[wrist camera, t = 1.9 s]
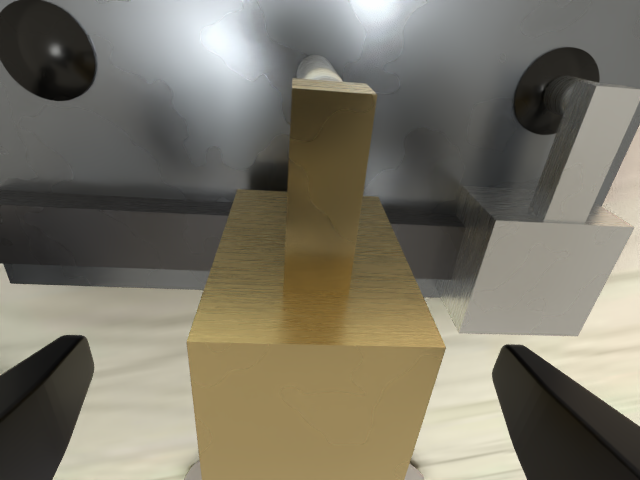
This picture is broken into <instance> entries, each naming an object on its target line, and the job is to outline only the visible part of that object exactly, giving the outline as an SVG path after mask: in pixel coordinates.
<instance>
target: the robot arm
mask: <svg viewBox="0 0 640 480" xmlns="http://www.w3.org/2000/svg"><path fill="white" fill-rule="evenodd" d="M93 373H94V362H93V358H92V354H91V351H90V347H89V343H88V340H87V338H86V337H85V336H82V335H64V336H61V337H60V338H58V339H56V340H55V341H53V342H52V343H50V344H48V345H47V346H45V347H44V348H42V349H41V350H39V351H38V352H36V353H34V354H33V355H31V356H30V357H28V358H27V359H25V360H24V361H22V362H20V363H19V364H17V365H16V366H14V367H13V368H11V369H9V370H8V371H6V372H5V373H3V374H2V375H0V480H52V479H53V477H54V475H55V473H56V471H57V468H58V466H59V464H60V462H61V460H62V458H63V456H64V453H65V451H66V449H67V447H68V444H69V441H70V439H71V436H72V433H73V430H74V428H75V425H76V422H77V419H78V416H79V414H80V411H81V408H82V405H83V402H84V399H85V397H86V394H87V391H88V388H89V385H90V382H91V380H92V377H93ZM492 378H493V383H494V386H495V389H496V393H497V396H498V399H499V402H500V405H501V409H502V412H503V415H504V418H505V422H506V425H507V428H508V431H509V435H510V438H511V440H512V443H513V446H514V449H515V451H516V454H517V456H518V459H519V461H520V464H521V466H522V468H523V471H524V473H525V475H526V478H527V480H640V426H638V425H637V424H635V423H634V422H633V421H631V420H630V419H628V418H627V417H625V416H624V415H623V414H621V413H620V412H618V411H617V410H615V409H614V408H613V407H611V406H610V405H608V404H607V403H605V402H604V401H603V400H601V399H600V398H598V397H597V396H595V395H594V394H593V393H591V392H590V391H588V390H587V389H585V388H584V387H582V386H581V385H580V384H578V383H577V382H575V381H574V380H572V379H571V378H570V377H568V376H567V375H565V374H564V373H562V372H561V371H560V370H558V369H557V368H555V367H554V366H552V365H551V364H550V363H548V362H547V361H545V360H544V359H542V358H541V357H540V356H538V355H537V354H535V353H534V352H532V351H531V350H530V349H528V348H527V347H525V346H523V345H504V346H503V347H502V348H501V351H500V353H499V356H498V358H497V360H496V363H495V365H494V368H493V372H492Z"/></svg>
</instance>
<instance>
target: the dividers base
mask: <svg viewBox="0 0 640 480" xmlns="http://www.w3.org/2000/svg"><path fill="white" fill-rule="evenodd" d="M311 55H320V56H323V57H324V58H326V59H327V60H328V61H329V62H330V63H331V65H332V66H333V68H334V69H335V71H336V72H337V74H338V75H339V76H340V78H341V79H342V81H343V82H350V83H363V84H367V85H368V86H369V87H370V88H371V89H372V90H373V91H374V92H375V93H376V94H377V101H376V108H375V115H374V122H373V129H372V136H371V143H370V150H369V157H368V164H367V171H366V178H365V185H364V192H363V196H374V197H379V200H380V202H381V204H382V206H383V209H384V211H385V213H386V215H387V217H388V220H389V222H390V224H391V226H392V229H393V231H394V233H395V235H396V238H397V240H398V242H399V244H400V246H401V249H402V251H403V253H404V255H405V258H406V260H407V262H408V264H409V266H410V269H411V271H412V273H413V275H414V278H415V280H416V282H417V284H418V286H419V289H420V291H421V293H422V295H423V297H439V298H441V299H442V301H443V303H444V305H445V307H446V309H447V311H448V313H449V315H450V317H451V319H452V320H453V322H454V324H455V326H456V328H457V330H458V332H459V333H472V334H511V335H551V336H578V335H579V333H580V331H581V329H582V327H583V325H584V323H585V321H586V319H587V317H588V316H589V314H590V312H591V310H592V308H593V306H594V304H595V302H596V300H597V298H598V296H599V294H600V293H601V291H602V289H603V287H604V285H605V283H606V281H607V279H608V277H609V275H610V273H611V271H612V269H613V268H614V266H615V264H616V262H617V260H618V258H619V256H620V254H621V252H622V250H623V248H624V246H625V245H626V243H627V241H628V239H629V237H630V235H631V233H632V231H633V229H634V227H633V226H632V225H630V224H628V223H627V222H625V221H624V220H622V219H620V218H619V217H617V216H616V215H614V214H613V213H611V212H609V211H608V210H606V209H605V208H603V207H601V206H602V204H603V202H604V200H605V198H606V196H607V193H608V191H609V189H610V187H611V185H612V183H613V180H614V178H615V176H616V174H617V172H618V170H619V167H620V165H621V163H622V161H623V159H624V157H625V155H626V152H627V150H628V148H629V146H630V144H631V142H632V139H633V137H634V135H635V133H636V131H637V129H638V126H639V124H640V0H0V263H3V264H4V267H5V269H6V272H7V275H8V278H9V280H10V283H13V284H43V285H74V286H104V287H135V288H165V289H195V290H204V288H205V285H206V282H207V279H208V276H209V273H210V270H211V267H212V264H213V261H214V258H215V255H216V252H217V249H218V246H219V243H220V240H221V237H222V234H223V231H224V228H225V225H226V222H227V219H228V216H229V213H230V210H231V207H232V204H233V201H234V198H235V195H236V192H237V189H245V190H263V191H282V192H287V191H288V168H289V144H290V121H291V98H292V78H297V69H298V66H299V64H300V63H301V61H302V60H303V59H305V58H306V57H308V56H311Z"/></svg>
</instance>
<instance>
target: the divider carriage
mask: <svg viewBox="0 0 640 480" xmlns="http://www.w3.org/2000/svg"><path fill="white" fill-rule="evenodd" d="M376 101H377V94H376V93H375V92H374V91H373V90H372V89H371V88H370V87H369V86H368V85H367V84H363V83H350V82H343V81H342V79H341V78H340V76H339V75H338V74H337V72H336V71H335V69H334V68H333V66H332V65H331V63H330V62H329V61H328V60H327V59H326V58H324V57H323V56H320V55H311V56H308V57H306V58H305V59H303V60H302V61H301V63H300V64H299V66H298V69H297V78H292V98H291V121H290V144H289V168H288V191H287V192H282V191H263V190H245V189H237V192H236V195H235V198H234V201H233V204H232V207H231V210H230V213H229V216H228V219H227V222H226V225H225V228H224V231H223V234H222V237H221V240H220V243H219V246H218V249H217V252H216V255H215V258H214V261H213V264H212V267H211V270H210V273H209V276H208V279H207V282H206V285H205V288H204V291H203V294H202V297H201V300H200V303H199V306H198V309H197V312H196V315H195V318H194V321H193V324H192V327H191V330H190V333H189V336H188V339H187V349H188V358H189V367H190V376H191V386H192V395H193V404H194V413H195V422H196V431H197V440H198V449H199V458H200V467H201V476H202V480H404V479H405V476H406V473H407V470H408V467H409V463H410V460H411V457H412V454H413V451H414V448H415V444H416V441H417V438H418V435H419V432H420V428H421V425H422V422H423V419H424V416H425V413H426V409H427V406H428V403H429V400H430V397H431V394H432V390H433V387H434V384H435V381H436V378H437V374H438V371H439V368H440V365H441V362H442V359H443V355H444V352H445V349H446V347H445V344H444V342H443V340H442V338H441V335H440V333H439V331H438V329H437V327H436V324H435V322H434V320H433V318H432V315H431V313H430V311H429V309H428V307H427V304H426V302H425V300H424V298H423V295H422V293H421V291H420V289H419V286H418V284H417V282H416V280H415V278H414V275H413V273H412V271H411V269H410V266H409V264H408V262H407V260H406V258H405V255H404V253H403V251H402V249H401V246H400V244H399V242H398V240H397V238H396V235H395V233H394V231H393V229H392V226H391V224H390V222H389V220H388V217H387V215H386V213H385V211H384V209H383V206H382V204H381V202H380V200H379V197H374V196H363V192H364V185H365V178H366V171H367V164H368V157H369V150H370V143H371V136H372V129H373V122H374V115H375V108H376Z"/></svg>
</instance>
